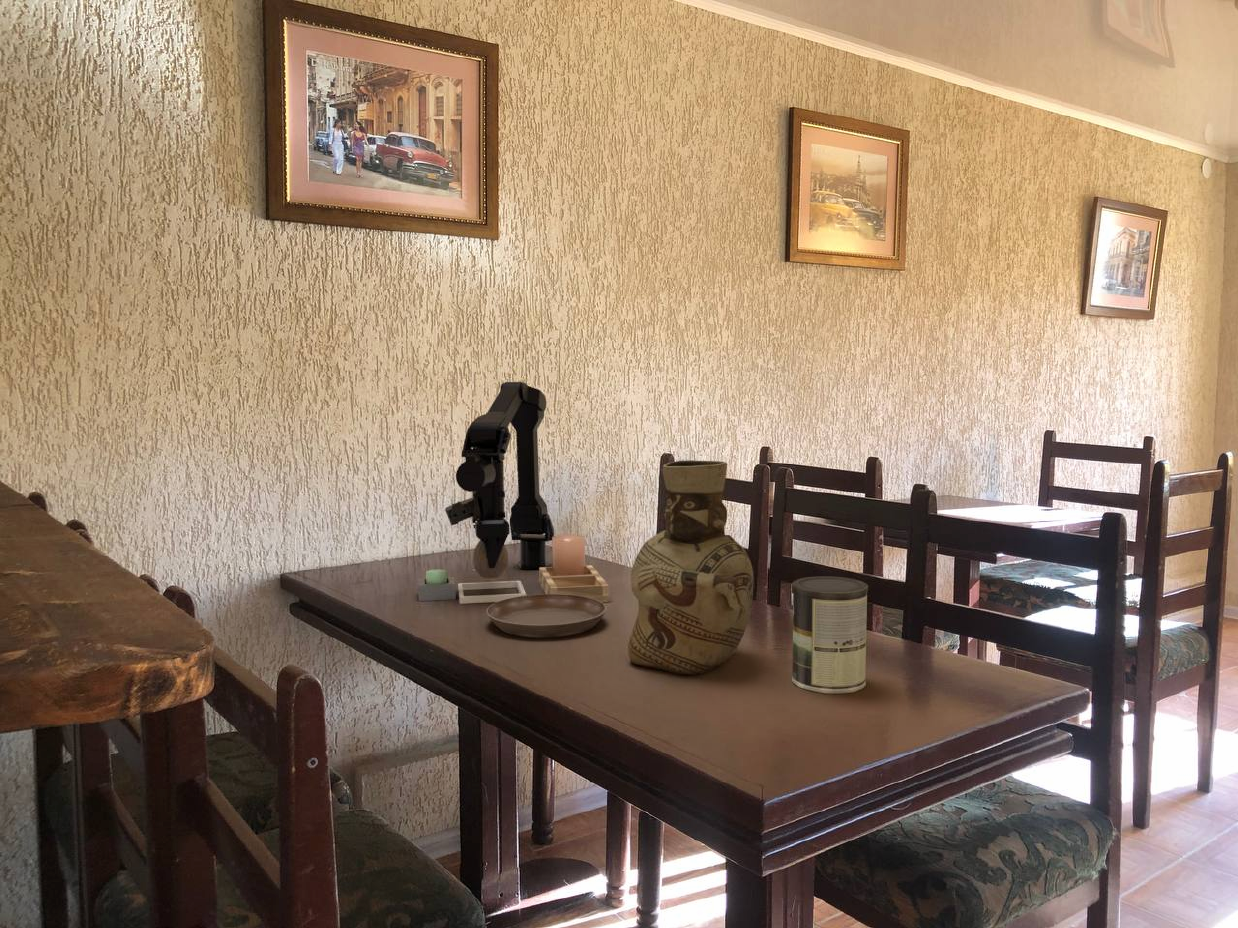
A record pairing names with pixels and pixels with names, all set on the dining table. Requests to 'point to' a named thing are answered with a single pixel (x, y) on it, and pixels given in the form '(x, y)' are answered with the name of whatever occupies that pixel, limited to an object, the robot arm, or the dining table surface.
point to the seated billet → (568, 555)
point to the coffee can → (829, 634)
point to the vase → (482, 563)
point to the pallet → (575, 584)
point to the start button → (436, 576)
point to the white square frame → (489, 585)
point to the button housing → (436, 590)
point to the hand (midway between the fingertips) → (490, 564)
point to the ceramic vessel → (691, 578)
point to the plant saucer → (546, 615)
